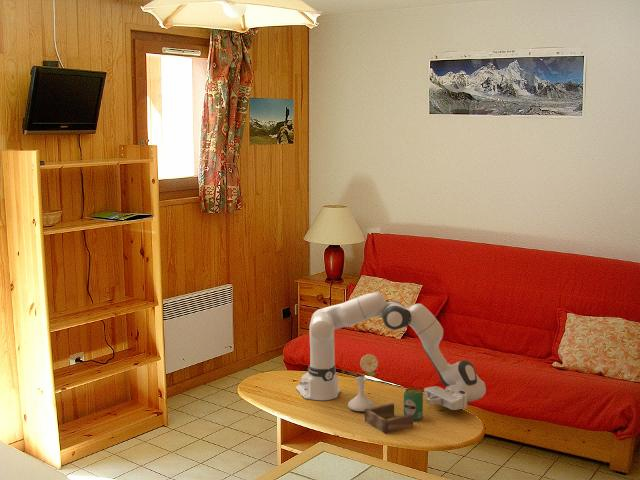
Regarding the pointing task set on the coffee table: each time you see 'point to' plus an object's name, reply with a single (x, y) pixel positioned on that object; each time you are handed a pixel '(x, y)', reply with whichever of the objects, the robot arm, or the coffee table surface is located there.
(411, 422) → the walnut bracket
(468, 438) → the coffee table surface
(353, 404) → the flower in vase
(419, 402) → the beverage can
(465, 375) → the robot arm
